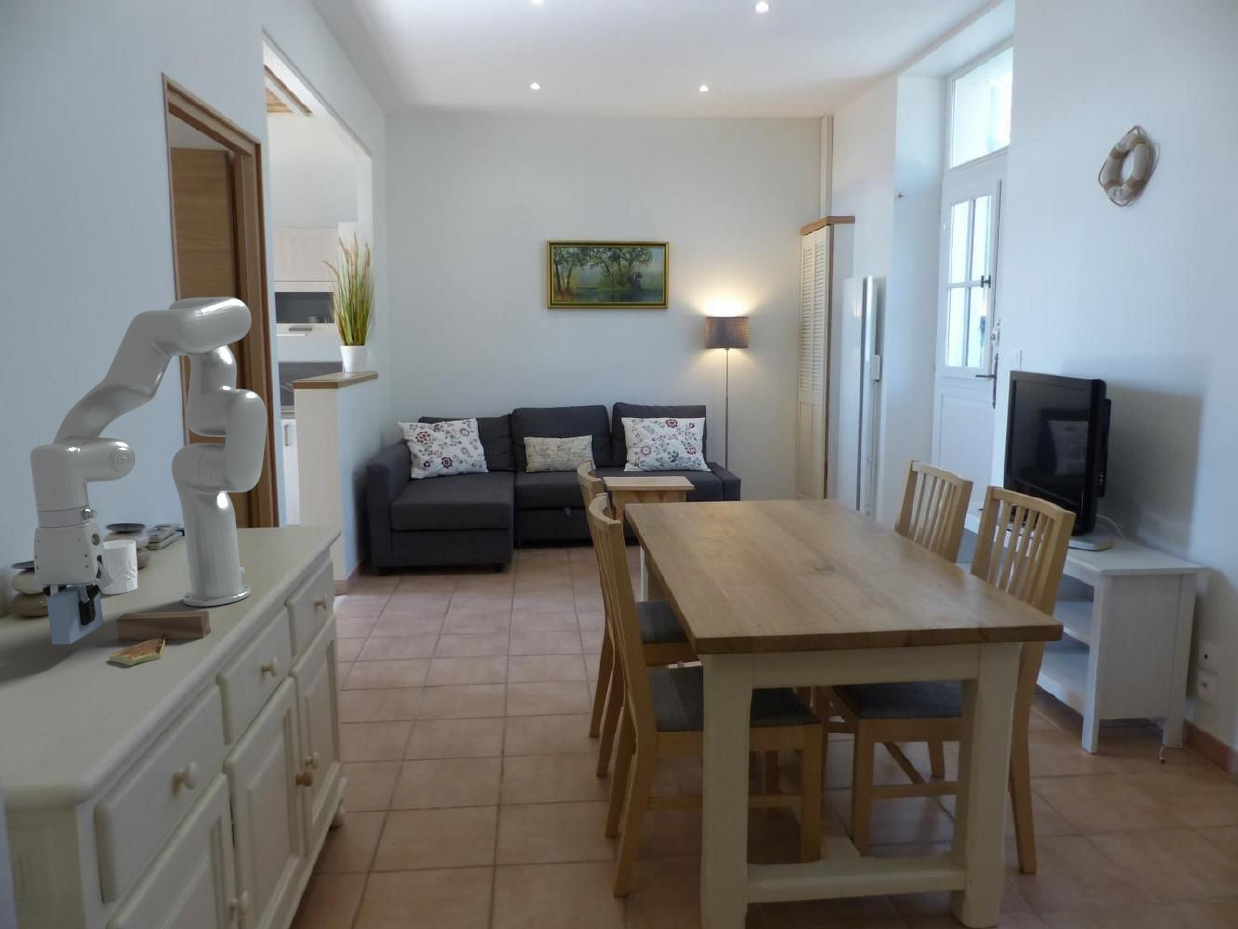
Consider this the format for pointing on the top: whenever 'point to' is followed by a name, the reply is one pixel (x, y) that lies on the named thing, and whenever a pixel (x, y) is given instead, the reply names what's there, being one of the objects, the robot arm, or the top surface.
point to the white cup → (121, 566)
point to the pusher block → (70, 616)
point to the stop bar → (163, 625)
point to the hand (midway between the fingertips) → (77, 622)
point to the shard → (140, 652)
